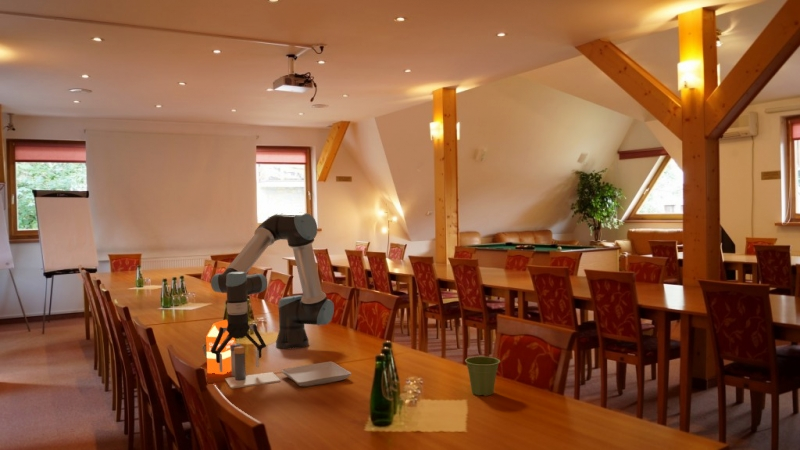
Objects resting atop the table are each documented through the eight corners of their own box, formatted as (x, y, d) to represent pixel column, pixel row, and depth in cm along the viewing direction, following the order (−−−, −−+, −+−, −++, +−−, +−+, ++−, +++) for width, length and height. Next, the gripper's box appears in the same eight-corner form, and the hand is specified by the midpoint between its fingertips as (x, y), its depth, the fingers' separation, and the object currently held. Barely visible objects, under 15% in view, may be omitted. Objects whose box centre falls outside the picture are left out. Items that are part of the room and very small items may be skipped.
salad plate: (298, 391, 222) (297, 381, 222) (280, 377, 240) (280, 368, 240) (353, 382, 231) (352, 372, 231) (331, 369, 250) (331, 360, 250)
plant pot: (492, 400, 205) (491, 366, 204) (459, 395, 211) (458, 362, 210) (506, 391, 215) (505, 358, 214) (474, 386, 221) (474, 354, 221)
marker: (244, 377, 238) (243, 345, 238) (247, 379, 235) (245, 347, 234) (234, 378, 236) (232, 347, 236) (236, 381, 233) (235, 349, 232)
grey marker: (240, 373, 246) (239, 343, 246) (242, 375, 242) (241, 345, 242) (230, 374, 244) (229, 344, 244) (232, 377, 241) (231, 346, 240)
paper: (272, 373, 245) (272, 372, 245) (280, 381, 233) (280, 380, 233) (225, 379, 237) (225, 378, 237) (230, 388, 225) (230, 387, 225)
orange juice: (236, 368, 254) (235, 319, 253) (223, 374, 245) (222, 323, 245) (220, 367, 256) (218, 319, 256) (206, 373, 248) (205, 323, 247)
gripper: (204, 317, 228) (206, 375, 228) (272, 311, 238) (274, 366, 239) (202, 314, 235) (203, 370, 235) (268, 308, 245) (269, 362, 245)
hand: (239, 368), depth 237 cm, fingers open, 13 cm apart
